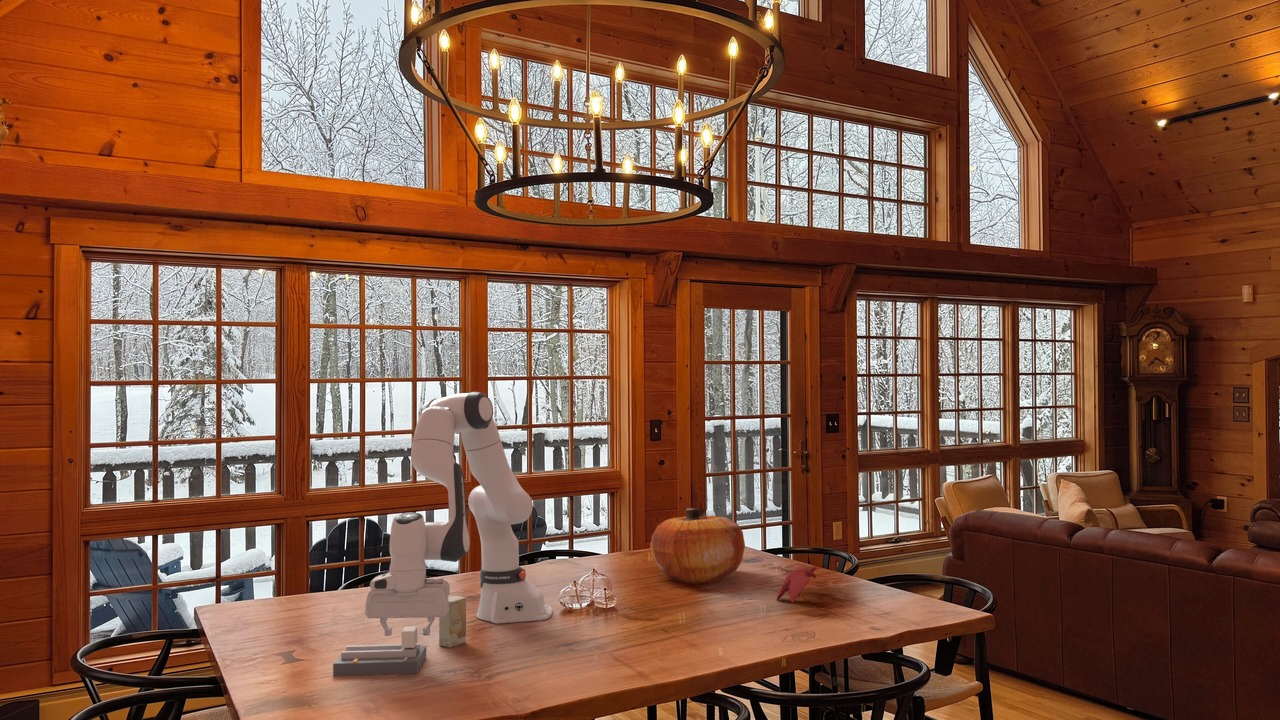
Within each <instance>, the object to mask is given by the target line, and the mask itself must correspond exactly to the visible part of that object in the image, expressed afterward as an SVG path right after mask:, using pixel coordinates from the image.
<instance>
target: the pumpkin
mask: <svg viewBox="0 0 1280 720" xmlns="http://www.w3.org/2000/svg"><path fill="white" fill-rule="evenodd" d="M685 515H686V516H680V517H672V518H668V519H665V520H664V521H662V522H661V523H660V524H658V525H657V526H656V527H655V529H654V531H653V533H652V534H651V537H650V538H651V541H650V550H651V553H652V558H653V560H654V562H655V563H656V566H658V568H659V570H660V572H661V573H663V574H664V575H666V576H668V577H669V578H670V579H672V580H673V581H675V582H677V583H678V582H679V583H684V584H689V585H690V584H691V585H701V584H709V583H710V584H711V583H717V582H720V581H723V580H724V579H725V578H727V577H728V576H729V575H731V574H733V573H734V572H736V571H737V570H738V568H739V567H740V565H741V564H742V562H743V557H744V553H745V547H746V544H745V538H744V532H743V530H742V528H741V526H740V525H739V524H738V523H736V522H735V521H734V520H731V519H729V517H726V516H725V517H724V516H713V515H707V514H706V512H705V510H704V509H702V508H691V507H690V508H685Z"/></svg>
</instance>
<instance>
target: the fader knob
mask: <svg viewBox="0 0 1280 720" xmlns="http://www.w3.org/2000/svg"><path fill="white" fill-rule="evenodd" d="M401 644H402V648H401V649H400V650H405V649H416V654H417V653H418V651H419V646H415V645H416V644H418V627H417V626H404V628H403V629H402V631H401Z"/></svg>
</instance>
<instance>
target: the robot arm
mask: <svg viewBox="0 0 1280 720" xmlns="http://www.w3.org/2000/svg"><path fill="white" fill-rule="evenodd" d="M493 415H494V406H493V402H492V400H491V399H490V398H489V397H488V395H487V394H486V393H483V392H480V391H471V392H464V393H463V392H462V393H454V394H453V393H452V394H450V395H447V396H443V397H439V398H433V399H430V400H428V401H427V402H425V403H424V404H423V405H422V407H421V409H420V412H419V418H418V420H417V423H416V425H415V429H414V433H413V438H412V444H411V451H410V452H411V453H410V454H411V455H410V462H411V464H412V467H413V468H414V469H415V470H414V471H416V472H417V473H418V474H420V476H423V477H424V478H426V479H428V480H430V481H432V482H436V483H438V484H440V485H442V486H444V487H445V488H446V490H447V493H448V512H449V514H448V515H449V517H448V520H447V521H445V522H443V521H442V522H441V521H440V522H439V521H437V522H435V521H432V522H431V521H425V519H424V515H423V514H421V513H419V512H415V511H413V512H412V511H411V512H410V511H409V512H404V513H399V514H397V515H395V516H394V517H393V519H392V521H391V522H392V523H391V528H390V534H389V535H390V536H389V554H390V559H391V560H390V565H389V571H388V572H385V573H383V574H380V575H379V574H378V575H377V576H375V577H374V578H373V579H372V580H370V583H369V587H370V589H371V590H369V591H368V593H367V595H366V601H365V608H364V611H365V612H364V615H365V616H366V617H367V618H368V619H379V623H380V625H381V626H382V628H383V630H384V635H383V636H384V637H391V636H392V634H393V627H392V626H389V625H388V623H387V621H388V619H411V618H413V619H417V618H418V619H420V618H423V619H424V618H427V623H428V624H427V626H423V627H422V635H423V636H430V635H431V627H432V625H433V623H434V622H435V620H436V619H435V618H439V617H445V616H446V615H447V614H448V612H449V601H448V597H449V594H450V592H451V590H450V589H451V587H450V583H449V582H448V581H446V580H444V579H443V578H437V579H434V578H427V564H426V561H427V560H428V561H442V562H443V561H446V562H453V563H457V562H458V561H459V560H461V559H463V558H464V557H465V556H466V555H467V554H468V553H469V550H470V549H469V548H470V543H471V542H470V541H471V540H470V533H469V527H468V517H467V516H468V514H467V501H468V508H469V510H470V511H471V513H472V514H473V517H474V518H475V522H476V527H477V530H478V534H479V538H480V546H481V547H480V548H481V550H480V551H481V569H480V570H479V571H480V572H479V586H480V588H481V589H480V597H479V599H480V600H479V603H478V609H477V613H476V617H477V618H478V619H479V620H483V621H487V622H490V623H493V624H507V623H508V624H509V623H518V622H519V623H521V622H531V621H532V622H533V621H534V622H536V621H543V620H547V619H549V618H550V617H551V616H552V615H553V614H552V613H553V609H552V607H551V606H550V605H548V604H546V603H545V598H544V595H543V592H542V590H541V589H539V588H538V587H537V586H535V585H534V584H533V583H531V582H530V581H529V580H527V579H526V577H527V572H526V569H525V567H523V568H522V567H521V566H519V563H520V557H519V555H520V553H519V549H520V547H519V540H518V538H517V536H516V535H515V533H514V531H513V529H512V525H517V524H522V523H524V522H526V521H527V520H528V519H529V518H530V516H531V515H532V511H533V506H534V505H533V500H532V497H531V496H530V495H529V493H527V492H526V491H525V490H524V489H523V487H522V486H521V484H520V483H519V481H518V479H517V477H516V476H515V474H514V472H513V471H512V469H511V467H510V465H509V462H508V458H507V457H506V452H505V450H504V445H503V443H502V439H501V435H500V433H499V430H498V427H497V425H496V422H495V420H494V418H493ZM455 434H460V435H461V436H460V437H461V442H462V445H463V449H464V452H465V456H466V459H467V463H468V466H469V470H470V473H471V475H472V476H473V477H474V478H475V479H476V480H477V482H478V483H479V485H478V486H475V487H474V488H473V489H472V490H471V492H470V494H469V495H468V498H467V499H468V500H467V499H466V495H467V494H466V484H465V476H464V471H463V468H462V466H461V464H460V463H457V462H456V460H455V457H454V446H455Z"/></svg>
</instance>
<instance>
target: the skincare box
mask: <svg viewBox="0 0 1280 720" xmlns="http://www.w3.org/2000/svg"><path fill="white" fill-rule="evenodd" d="M448 601H449V612H448V614H447V615H446V616H445V617H438V619H439V620H438V621H439V623H438V624H439V626H438V627H439V629H438V646H442V647H447V648H453V647H456V646H460V645H462V644H465V643H466V642H467V597H465V596H461V595H460V596H459V595H453V596H448Z"/></svg>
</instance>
